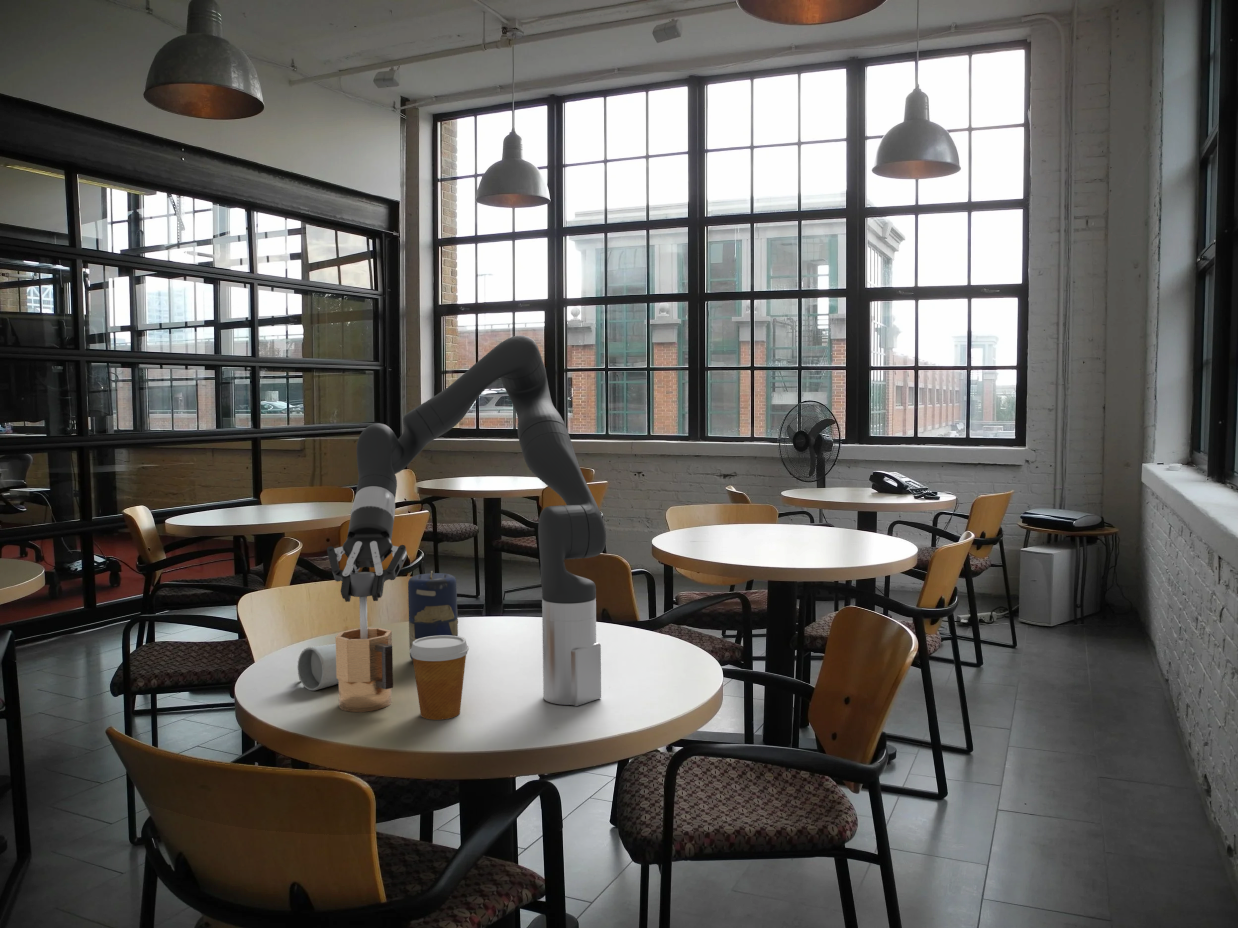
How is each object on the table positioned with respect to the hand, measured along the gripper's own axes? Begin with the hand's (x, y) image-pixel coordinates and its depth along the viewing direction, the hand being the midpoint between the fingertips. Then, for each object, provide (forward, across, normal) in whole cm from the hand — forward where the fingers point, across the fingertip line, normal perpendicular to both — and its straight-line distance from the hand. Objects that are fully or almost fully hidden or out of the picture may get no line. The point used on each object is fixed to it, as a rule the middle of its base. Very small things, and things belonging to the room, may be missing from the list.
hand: (360, 598), depth 157 cm
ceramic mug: (+3, +10, -24) cm, 26 cm away
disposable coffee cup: (+17, -13, -10) cm, 23 cm away
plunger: (+7, 0, -9) cm, 11 cm away
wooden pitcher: (+12, -1, -14) cm, 19 cm away
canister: (-7, -8, -34) cm, 36 cm away
